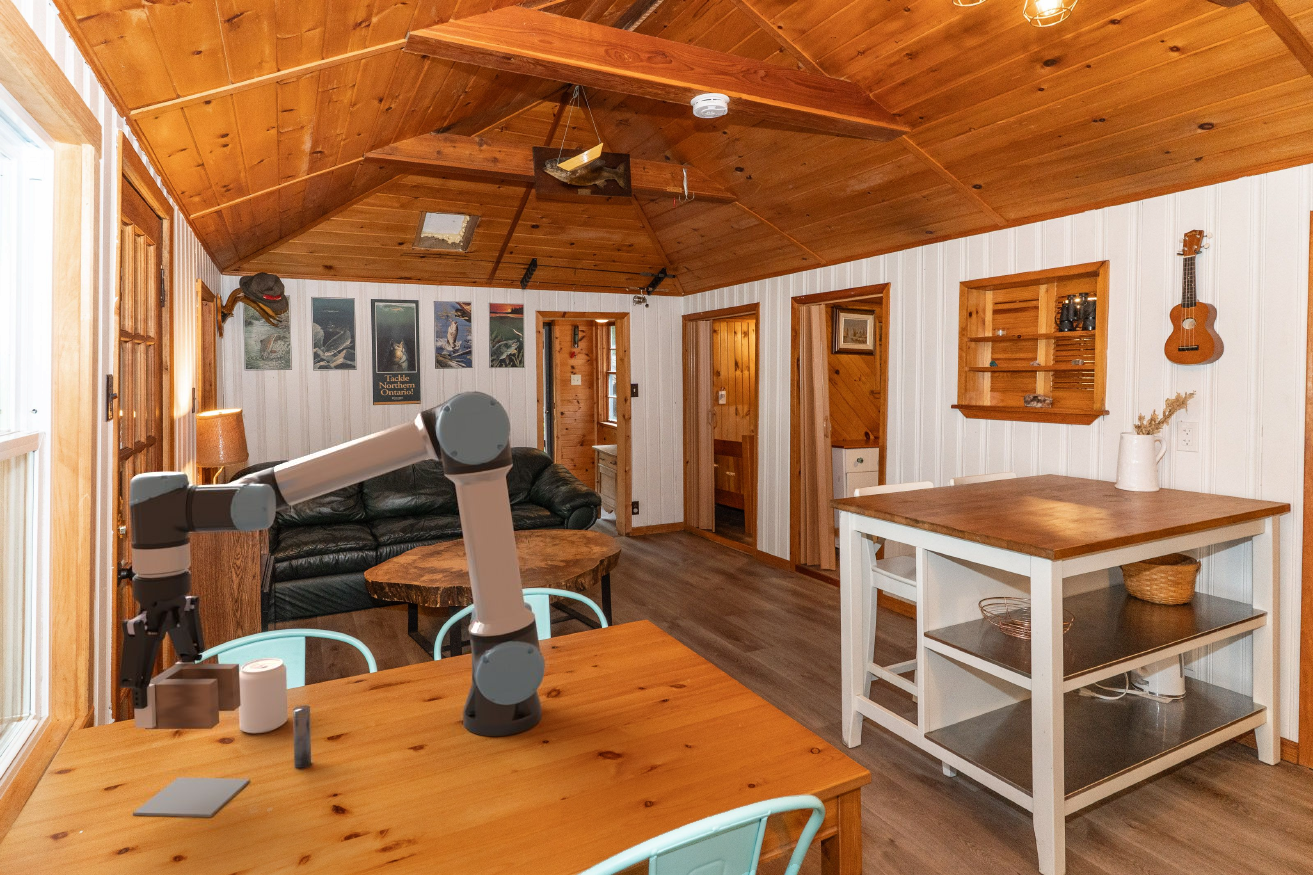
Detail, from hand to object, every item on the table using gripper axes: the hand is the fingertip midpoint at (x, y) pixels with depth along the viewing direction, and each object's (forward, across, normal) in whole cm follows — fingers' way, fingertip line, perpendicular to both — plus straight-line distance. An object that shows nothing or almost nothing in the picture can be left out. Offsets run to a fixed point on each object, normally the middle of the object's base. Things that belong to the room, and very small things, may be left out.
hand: (166, 713), depth 114 cm
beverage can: (+14, -24, +1) cm, 28 cm away
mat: (+13, 0, +4) cm, 14 cm away
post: (+13, -10, +16) cm, 23 cm away
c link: (+1, 0, +4) cm, 4 cm away
